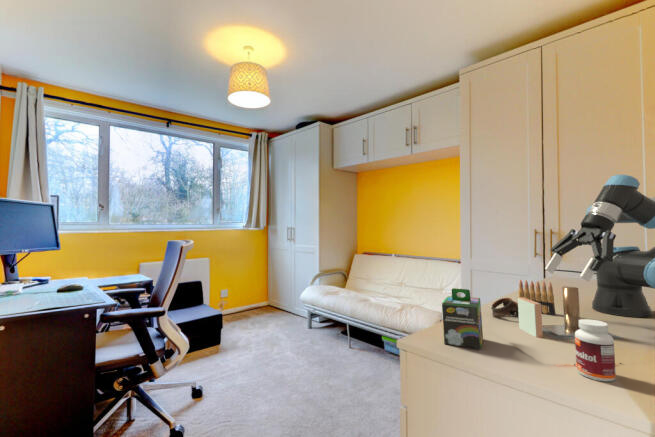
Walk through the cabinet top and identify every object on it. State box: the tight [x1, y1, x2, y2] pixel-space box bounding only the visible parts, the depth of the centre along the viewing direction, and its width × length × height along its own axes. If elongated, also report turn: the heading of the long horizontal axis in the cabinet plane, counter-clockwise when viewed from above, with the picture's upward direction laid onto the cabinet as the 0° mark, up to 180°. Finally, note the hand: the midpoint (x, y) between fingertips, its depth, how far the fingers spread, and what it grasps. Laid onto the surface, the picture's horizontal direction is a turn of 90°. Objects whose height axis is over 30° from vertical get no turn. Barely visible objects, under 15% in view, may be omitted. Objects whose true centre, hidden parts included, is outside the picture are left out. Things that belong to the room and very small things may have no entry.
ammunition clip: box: [518, 279, 556, 317], centre depth 107 cm, size 11×2×12 cm, turn 44°
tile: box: [517, 296, 544, 338], centre depth 87 cm, size 2×8×10 cm, turn 179°
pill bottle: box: [574, 318, 617, 383], centre depth 63 cm, size 6×6×11 cm
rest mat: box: [542, 329, 626, 341], centre depth 87 cm, size 18×12×1 cm, turn 89°
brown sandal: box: [490, 297, 519, 318], centre depth 103 cm, size 12×10×8 cm
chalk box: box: [441, 288, 484, 351], centre depth 84 cm, size 9×9×15 cm
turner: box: [542, 286, 610, 337], centre depth 87 cm, size 14×8×13 cm, turn 89°
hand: (565, 274), depth 96 cm, fingers open, 13 cm apart
